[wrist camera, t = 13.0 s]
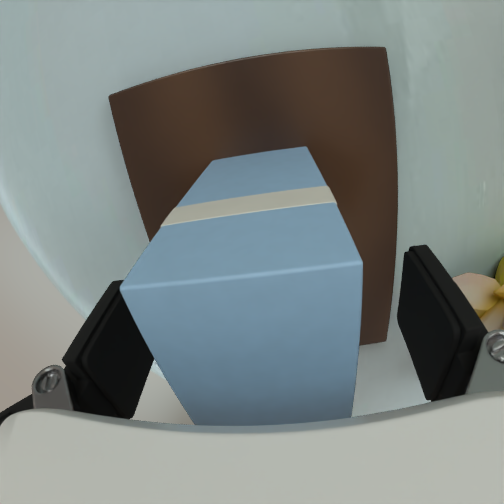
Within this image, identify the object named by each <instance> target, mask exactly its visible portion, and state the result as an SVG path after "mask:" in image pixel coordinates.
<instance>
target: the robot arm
mask: <svg viewBox="0 0 504 504" xmlns="http://www.w3.org/2000/svg"><path fill="white" fill-rule="evenodd" d="M123 281H124V280H119V281H113V282H112V283H111V284H110V285H109V287H108V288H107V290H106V291H105V293H104V294H103V296H102V297H101V299H100V300H99V302H98V303H97V304H96V306H95V308H94V309H93V311H92V312H91V314H90V315H89V317H88V318H87V320H86V321H85V323H84V324H83V326H82V328H81V329H80V331H79V332H78V334H77V335H76V337H75V339H74V340H73V342H72V344H71V345H70V347H69V348H68V350H67V352H66V354H65V355H64V357H63V359H62V361H63V362H64V364H65V365H66V367H65V368H64V369H63V368H62V367H61V366H58V365H51V366H48V367H46V368H44V369H43V370H41V371H40V372H39V373H38V374H37V375H36V377H35V378H34V381H33V383H32V394H31V395H29V396H28V397H26V398H24V399H22V400H21V401H19V402H17V403H16V404H14V405H12V406H10V407H9V408H7V409H5V410H4V411H2V412H1V413H0V504H504V330H502V329H498V330H493V331H490V332H488V331H487V329H486V327H485V326H484V324H483V323H482V321H481V319H480V318H479V316H478V315H477V313H476V312H475V310H474V309H473V307H472V306H471V304H470V303H469V301H468V300H467V298H466V297H465V295H464V294H463V292H462V291H461V289H460V288H459V287H458V285H457V284H456V283H455V282H454V281H453V279H452V278H451V276H450V275H449V274H448V272H447V271H446V270H445V268H444V267H443V266H442V264H441V263H440V262H439V260H438V259H437V258H436V256H435V255H434V254H433V252H432V251H431V250H430V248H429V247H428V246H427V245H419V246H412V247H410V248H409V251H408V252H405V253H404V260H403V271H402V281H401V289H400V298H399V305H398V312H397V320H398V324H399V327H400V330H401V332H402V335H403V337H404V340H405V342H406V345H407V348H408V350H409V353H410V355H411V358H412V361H413V364H414V366H415V369H416V372H417V375H418V378H419V381H420V384H421V386H422V389H423V392H424V395H425V398H426V400H431V402H429V403H425V404H421V405H416V406H412V407H407V408H402V409H397V410H392V411H386V412H381V413H375V414H369V415H363V416H357V417H350V418H343V419H336V420H327V421H318V422H307V423H295V424H280V425H258V426H208V425H185V424H169V423H158V422H147V421H138V420H130V418H132V417H133V416H134V413H135V411H136V407H137V405H138V402H139V399H140V396H141V393H142V391H143V388H144V385H145V382H146V380H147V377H148V374H149V371H150V369H151V366H152V363H153V361H154V357H153V355H152V353H151V351H150V350H149V348H148V346H147V344H146V342H145V340H144V338H143V336H142V334H141V333H140V331H139V329H138V327H137V325H136V323H135V321H134V319H133V317H132V315H131V313H130V311H129V309H128V307H127V304H126V302H125V300H124V298H123V296H122V294H121V292H120V286H121V284H122V283H123Z"/></svg>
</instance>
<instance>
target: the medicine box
mask: <svg viewBox="0 0 504 504" xmlns="http://www.w3.org/2000/svg"><path fill="white" fill-rule="evenodd" d="M362 286H363V262H362V259H361V257H360V255H359V253H358V250H357V248H356V246H355V244H354V241H353V239H352V237H351V235H350V232H349V230H348V228H347V226H346V224H345V222H344V220H343V217H342V215H341V213H340V211H339V209H338V207H337V202H336V200H335V198H334V196H333V194H332V192H331V190H330V188H329V186H327V185H326V183H325V181H324V179H323V177H322V175H321V173H320V171H319V169H318V167H317V165H316V163H315V161H314V159H313V158H312V156H311V154H310V152H309V150H308V148H307V147H306V146H305V147H297V148H289V149H281V150H274V151H267V152H260V153H253V154H247V155H241V156H235V157H229V158H223V159H218V160H213V161H212V162H211V163H210V164H209V165H208V167H207V168H206V169H205V170H204V172H203V173H202V174H201V175H200V177H199V178H198V179H197V180H196V182H195V183H194V184H193V186H192V187H191V188H190V189H189V191H188V192H187V193H186V195H185V196H184V197H183V198H182V200H181V201H180V202H179V204H178V205H177V206H176V207H175V208H174V209H173V210H172V211H171V213H170V214H169V215H168V217H167V218H166V219H165V221H164V222H163V223H162V225H161V228H160V229H159V231H158V232H157V233H156V235H155V236H154V238H153V239H152V240H151V242H150V243H149V245H148V246H147V247H146V249H145V250H144V252H143V253H142V255H141V256H140V257H139V259H138V260H137V262H136V263H135V265H134V266H133V268H132V269H131V271H130V272H129V274H128V275H127V277H126V278H125V280H124V281H123V283H122V284H121V286H120V292H121V294H122V296H123V298H124V300H125V302H126V304H127V307H128V309H129V311H130V313H131V315H132V317H133V319H134V321H135V323H136V325H137V327H138V329H139V331H140V333H141V334H142V336H143V338H144V340H145V342H146V344H147V346H148V348H149V350H150V351H151V353H152V355H153V357H154V359H155V360H156V362H157V364H158V366H159V367H160V369H161V371H162V373H163V374H164V376H165V378H166V380H167V381H168V383H169V385H170V386H171V388H172V390H173V391H174V393H175V395H176V396H177V398H178V399H179V401H180V403H181V404H182V406H183V407H184V409H185V410H186V412H187V414H188V415H189V417H190V418H191V420H192V421H193V423H194V424H195V425H208V426H258V425H280V424H295V423H307V422H318V421H327V420H336V419H343V418H350V417H351V415H352V407H353V400H354V392H355V384H356V374H357V365H358V354H359V342H360V328H361V310H362Z"/></svg>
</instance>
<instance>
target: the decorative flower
mask: <svg viewBox="0 0 504 504" xmlns="http://www.w3.org/2000/svg"><path fill="white" fill-rule="evenodd" d="M452 279H453V281H454V282H455V283H456V284H457V285H458V287H459V288H460V289H461V291H462V292H463V294H464V295H465V297H466V298H467V300H468V301H469V303H470V304H471V306H472V307H473V309H474V310H475V312H476V313H477V315H478V316H479V318H480V319H481V321H482V323H483V324H484V326H485V327H486V329H487V331H488V332H490V331H493V330H498V329H502V330H504V257H503V258H502V259H501V260H500V262H499V265H498V268H497V271H496V275H495V279H493V278H490V277H487V276H484V275H481V274H475V273H465V274H462V275H458V276H455V277H453V278H452Z"/></svg>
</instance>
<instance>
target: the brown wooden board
mask: <svg viewBox="0 0 504 504" xmlns="http://www.w3.org/2000/svg"><path fill="white" fill-rule="evenodd" d="M109 102H110V106H111V110H112V115H113V119H114V123H115V127H116V131H117V135H118V139H119V142H120V146H121V150H122V154H123V157H124V161H125V164H126V168H127V171H128V175H129V178H130V182H131V185H132V188H133V192H134V195H135V198H136V201H137V204H138V208H139V211H140V214H141V217H142V220H143V223H144V226H145V229H146V232H147V235H148V238H149V241H150V242H151V240H152V239H153V238H154V236H155V235H156V233H157V232H158V231H159V229H160V228H161V225H162V223H163V222H164V221H165V219H166V218H167V217H168V215H169V214H170V213H171V211H172V210H173V209H174V208H175V207H176V206H177V205H178V204H179V202H180V201H181V200H182V198H183V197H184V196H185V195H186V193H187V192H188V191H189V189H190V188H191V187H192V186H193V184H194V183H195V182H196V180H197V179H198V178H199V177H200V175H201V174H202V173H203V172H204V170H205V169H206V168H207V167H208V165H209V164H210V163H211V162H212V161H213V160H218V159H223V158H229V157H235V156H241V155H247V154H253V153H260V152H267V151H274V150H281V149H289V148H297V147H305V146H306V147H307V148H308V150H309V152H310V154H311V156H312V158H313V159H314V161H315V163H316V165H317V167H318V169H319V171H320V173H321V175H322V177H323V179H324V181H325V183H326V185H327V186H329V188H330V190H331V192H332V194H333V196H334V198H335V200H336V202H337V207H338V209H339V211H340V213H341V215H342V217H343V220H344V222H345V224H346V226H347V228H348V230H349V232H350V235H351V237H352V239H353V241H354V244H355V246H356V248H357V250H358V253H359V255H360V257H361V259H362V262H363V286H362V310H361V328H360V342H359V346H360V345H366V344H372V343H378V342H384V341H386V339H387V332H388V325H389V318H390V310H391V302H392V293H393V283H394V271H395V258H396V241H397V214H398V172H397V145H396V129H395V116H394V105H393V96H392V87H391V79H390V72H389V65H388V58H387V52H386V48H385V47H336V48H319V49H306V50H296V51H287V52H279V53H271V54H264V55H258V56H252V57H246V58H240V59H235V60H230V61H225V62H220V63H215V64H211V65H207V66H202V67H198V68H194V69H190V70H186V71H183V72H179V73H175V74H172V75H168V76H165V77H161V78H158V79H155V80H152V81H148V82H145V83H142V84H139V85H136V86H133V87H131V88H128V89H125V90H122V91H119V92H117V93H114V94H111V95H110V96H109Z"/></svg>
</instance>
